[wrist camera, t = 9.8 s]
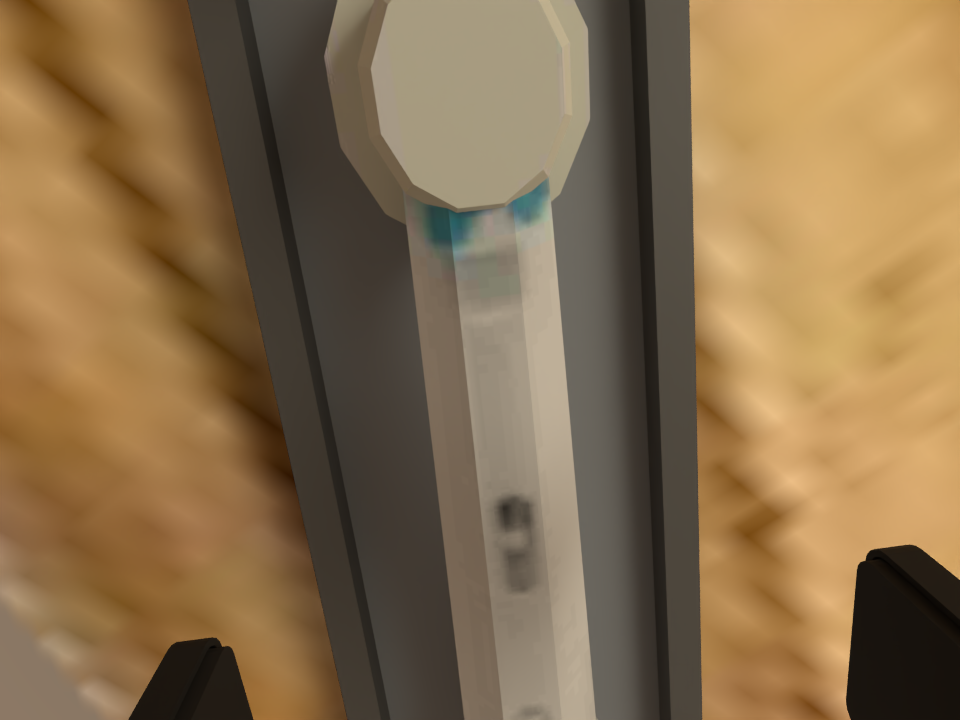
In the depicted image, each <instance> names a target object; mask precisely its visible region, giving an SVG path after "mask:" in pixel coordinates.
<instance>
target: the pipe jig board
mask: <svg viewBox="0 0 960 720" xmlns="http://www.w3.org/2000/svg"><path fill="white" fill-rule="evenodd" d="M337 1H338V0H188V5H189V9H190V14H191V18H192V23H193V27H194V32H195V36H196V41H197V45H198V50H199V54H200V59H201V63H202V68H203V72H204V77H205V81H206V86H207V90H208V94H209V99H210V103H211V108H212V112H213V117H214V121H215V126H216V130H217V135H218V139H219V144H220V148H221V153H222V157H223V162H224V166H225V171H226V175H227V180H228V184H229V189H230V193H231V198H232V202H233V207H234V211H235V216H236V220H237V225H238V229H239V234H240V238H241V243H242V247H243V252H244V256H245V261H246V265H247V270H248V274H249V279H250V283H251V288H252V292H253V297H254V301H255V306H256V310H257V315H258V319H259V324H260V328H261V333H262V337H263V342H264V346H265V351H266V355H267V360H268V364H269V369H270V373H271V378H272V382H273V387H274V391H275V396H276V400H277V405H278V409H279V414H280V418H281V423H282V427H283V432H284V436H285V441H286V445H287V450H288V454H289V459H290V463H291V468H292V472H293V477H294V481H295V486H296V490H297V495H298V499H299V504H300V508H301V513H302V517H303V522H304V526H305V531H306V535H307V540H308V544H309V549H310V553H311V558H312V562H313V567H314V571H315V576H316V580H317V585H318V589H319V594H320V598H321V603H322V607H323V612H324V616H325V621H326V625H327V630H328V634H329V639H330V643H331V648H332V652H333V656H334V661H335V665H336V670H337V674H338V679H339V683H340V688H341V692H342V697H343V701H344V706H345V710H346V715H347V719H348V720H464V713H463V704H462V695H461V687H460V678H459V670H458V661H457V653H456V644H455V636H454V627H453V618H452V610H451V601H450V593H449V584H448V576H447V567H446V559H445V550H444V541H443V533H442V524H441V516H440V507H439V499H438V490H437V482H436V473H435V465H434V456H433V447H432V439H431V430H430V422H429V413H428V405H427V396H426V388H425V379H424V370H423V362H422V353H421V345H420V336H419V328H418V319H417V311H416V302H415V293H414V285H413V276H412V268H411V259H410V251H409V242H408V234H407V225H405V224H403V223H402V222H400V221H398V220H396V219H394V218H392V217H390V216H388V215H386V214H385V213H384V211H383V210H382V208H381V207H380V205H379V204H378V202H377V201H376V199H375V198H374V196H373V195H372V193H371V192H370V190H369V189H368V187H367V186H366V185H365V183H364V182H363V180H362V179H361V177H360V176H359V174H358V173H357V171H356V170H355V168H354V167H353V165H352V164H351V162H350V161H349V159H348V158H347V156H346V155H345V154H344V152H343V151H342V149H341V148H340V143H339V137H338V132H337V126H336V121H335V115H334V110H333V104H332V99H331V94H330V88H329V83H328V77H327V72H326V66H325V61H324V55H325V51H326V47H327V42H328V38H329V34H330V30H331V26H332V22H333V18H334V13H335V9H336V5H337ZM574 1H575V3H576V5H577V7H578V9H579V11H580V13H581V15H582V18H583V20H584V22H585V24H586V26H587V28H588V56H589V96H590V121H589V123H588V126H587V128H586V131H585V133H584V136H583V138H582V141H581V143H580V146H579V148H578V151H577V153H576V156H575V158H574V161H573V163H572V166H571V168H570V171H569V173H568V176H567V178H566V181H565V183H564V186H563V188H562V191H561V193H560V195H558V196H557V197H556V198H555V199H554V200H553V201H551V208H552V219H553V231H554V242H555V254H556V265H557V277H558V288H559V300H560V311H561V323H562V334H563V346H564V357H565V369H566V380H567V392H568V403H569V415H570V426H571V438H572V449H573V461H574V472H575V484H576V495H577V507H578V518H579V530H580V541H581V553H582V564H583V576H584V587H585V599H586V610H587V622H588V633H589V645H590V656H591V668H592V680H593V691H594V703H595V714H596V718H598V720H702V684H701V629H700V574H699V519H698V463H697V408H696V353H695V298H694V243H693V188H692V133H691V78H690V23H689V0H574Z"/></svg>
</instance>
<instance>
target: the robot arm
mask: <svg viewBox="0 0 960 720" xmlns="http://www.w3.org/2000/svg"><path fill="white" fill-rule="evenodd" d="M846 705H847V710H848V713H849V716H850V718H851V720H960V580H959V579H958V578H956V577H955V576H954V575H953V574H952V573H950V572H949V571H948V570H947V569H945V568H944V567H943V566H942V565H940V564H939V563H938V562H937V561H935V560H934V559H933V558H932V557H930V556H929V555H928V554H927V553H926V552H924V551H923V550H922V549H920V548H918V547H917V546H914V545H903V546H895V547H888V548H880V549H874V550H871V551H870V552H869V553H868V554H867V556H866V561H863V562H860V564H859V565H858V568H857V577H856V588H855V600H854V612H853V624H852V636H851V648H850V660H849V671H848V683H847V695H846ZM129 720H253V717H252V713H251V710H250V707H249V703H248V700H247V696H246V693H245V689H244V686H243V683H242V679H241V676H240V672H239V669H238V666H237V662H236V659H235V655H234V652H233V650H232V648H231V647H229V646H225V647H222V646H221V643H220V641H219V640H218V639H217V638H205V639H198V640H190V641H183V642H176V643H174V644H173V645H171V647H170V648H169V649H168V651H167V653H166V654H165V656H164V658H163V660H162V661H161V663H160V665H159V667H158V668H157V670H156V672H155V674H154V675H153V677H152V679H151V681H150V683H149V684H148V686H147V688H146V690H145V691H144V693H143V695H142V697H141V698H140V700H139V702H138V704H137V705H136V707H135V709H134V711H133V712H132V714H131V716H130V718H129Z"/></svg>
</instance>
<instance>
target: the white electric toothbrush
mask: <svg viewBox="0 0 960 720" xmlns="http://www.w3.org/2000/svg"><path fill="white" fill-rule="evenodd" d="M324 61H325V66H326V72H327V77H328V83H329V88H330V94H331V99H332V104H333V110H334V115H335V121H336V126H337V132H338V137H339V143H340V148H341V149H342V151H343V152H344V154H345V155H346V156H347V158H348V159H349V161H350V162H351V164H352V165H353V167H354V168H355V170H356V171H357V173H358V174H359V176H360V177H361V179H362V180H363V182H364V183H365V185H366V186H367V187H368V189H369V190H370V192H371V193H372V195H373V196H374V198H375V199H376V201H377V202H378V204H379V205H380V207H381V208H382V210H383V211H384V213H385V214H386V215H388V216H390V217H392V218H394V219H396V220H398V221H400V222H402V223H403V224H405V225H407V234H408V242H409V251H410V259H411V268H412V276H413V285H414V293H415V302H416V311H417V319H418V328H419V336H420V345H421V353H422V362H423V370H424V379H425V388H426V396H427V405H428V413H429V422H430V430H431V439H432V447H433V456H434V465H435V473H436V482H437V490H438V499H439V507H440V516H441V524H442V533H443V541H444V550H445V559H446V567H447V576H448V584H449V593H450V601H451V610H452V618H453V627H454V636H455V644H456V653H457V661H458V670H459V678H460V687H461V695H462V704H463V713H464V720H598V718H596V714H595V703H594V691H593V680H592V668H591V656H590V645H589V633H588V622H587V610H586V599H585V587H584V576H583V564H582V553H581V541H580V530H579V518H578V507H577V495H576V484H575V472H574V461H573V449H572V438H571V426H570V415H569V403H568V392H567V380H566V369H565V357H564V346H563V334H562V323H561V311H560V300H559V288H558V277H557V265H556V254H555V242H554V231H553V219H552V208H551V201H553V200H554V199H555V198H556V197H557V196H558V195H560V193H561V191H562V188H563V186H564V183H565V181H566V178H567V176H568V173H569V171H570V168H571V166H572V163H573V161H574V158H575V156H576V153H577V151H578V148H579V146H580V143H581V141H582V138H583V136H584V133H585V131H586V128H587V126H588V123H589V121H590V96H589V56H588V28H587V26H586V24H585V22H584V20H583V18H582V15H581V13H580V11H579V9H578V7H577V5H576V3H575V1H574V0H338V1H337V5H336V9H335V13H334V18H333V22H332V26H331V30H330V34H329V38H328V42H327V47H326V51H325V55H324Z"/></svg>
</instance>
